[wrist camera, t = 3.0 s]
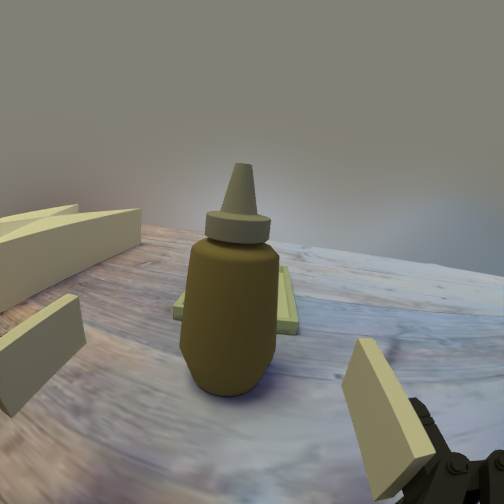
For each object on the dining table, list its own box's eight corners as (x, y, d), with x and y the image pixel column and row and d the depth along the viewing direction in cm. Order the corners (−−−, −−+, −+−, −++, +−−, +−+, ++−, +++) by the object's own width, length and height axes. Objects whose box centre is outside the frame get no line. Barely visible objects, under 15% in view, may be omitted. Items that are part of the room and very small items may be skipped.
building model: (78, 236, 68) (78, 203, 65) (140, 245, 66) (141, 208, 64) (-50, 284, 24) (-57, 232, 22) (-3, 318, 22) (-17, 247, 20)
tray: (210, 266, 54) (211, 257, 54) (286, 275, 54) (287, 266, 53) (173, 318, 32) (172, 305, 32) (296, 335, 32) (298, 322, 31)
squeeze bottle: (175, 353, 25) (181, 162, 21) (252, 348, 28) (273, 171, 24) (187, 412, 18) (193, 153, 14) (283, 398, 21) (324, 171, 16)
